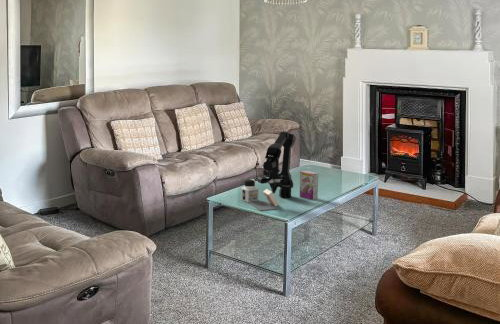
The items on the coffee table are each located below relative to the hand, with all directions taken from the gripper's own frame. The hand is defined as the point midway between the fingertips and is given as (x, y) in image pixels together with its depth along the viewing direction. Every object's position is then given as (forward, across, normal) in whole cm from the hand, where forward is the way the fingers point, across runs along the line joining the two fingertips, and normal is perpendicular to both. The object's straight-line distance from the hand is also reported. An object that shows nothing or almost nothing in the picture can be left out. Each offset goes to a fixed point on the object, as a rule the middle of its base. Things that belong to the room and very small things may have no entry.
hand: (273, 193), depth 349 cm
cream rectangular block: (+6, -1, 0) cm, 6 cm away
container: (+7, +9, -15) cm, 19 cm away
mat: (+7, +7, 0) cm, 10 cm away
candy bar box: (+7, -27, -7) cm, 29 cm away
